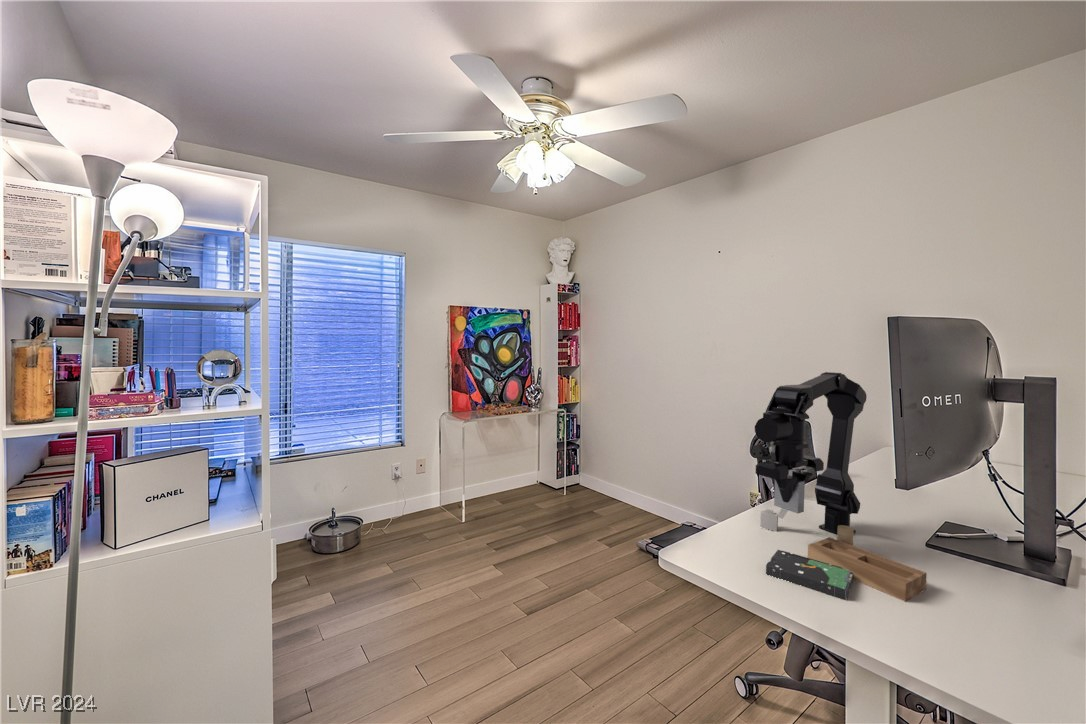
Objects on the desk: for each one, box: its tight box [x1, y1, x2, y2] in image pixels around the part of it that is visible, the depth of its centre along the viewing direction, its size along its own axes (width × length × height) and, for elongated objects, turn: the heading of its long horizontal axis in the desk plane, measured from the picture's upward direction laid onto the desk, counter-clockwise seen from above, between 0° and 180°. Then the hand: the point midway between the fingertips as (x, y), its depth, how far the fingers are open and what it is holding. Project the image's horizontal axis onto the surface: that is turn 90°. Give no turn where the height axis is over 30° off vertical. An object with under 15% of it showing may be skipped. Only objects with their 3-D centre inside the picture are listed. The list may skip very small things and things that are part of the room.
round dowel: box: [836, 525, 855, 546], centre depth 107 cm, size 3×3×6 cm
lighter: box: [759, 508, 789, 532], centre depth 119 cm, size 7×2×8 cm, turn 57°
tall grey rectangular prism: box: [773, 479, 806, 514], centre depth 108 cm, size 2×6×8 cm, turn 29°
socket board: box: [807, 536, 928, 602], centre depth 97 cm, size 9×19×4 cm, turn 29°
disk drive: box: [765, 549, 854, 601], centre depth 95 cm, size 10×3×15 cm
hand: (788, 501), depth 108 cm, fingers closed on tall grey rectangular prism, 2 cm apart
